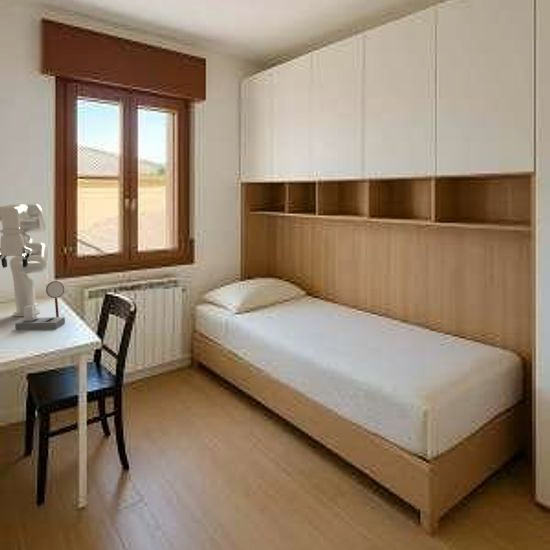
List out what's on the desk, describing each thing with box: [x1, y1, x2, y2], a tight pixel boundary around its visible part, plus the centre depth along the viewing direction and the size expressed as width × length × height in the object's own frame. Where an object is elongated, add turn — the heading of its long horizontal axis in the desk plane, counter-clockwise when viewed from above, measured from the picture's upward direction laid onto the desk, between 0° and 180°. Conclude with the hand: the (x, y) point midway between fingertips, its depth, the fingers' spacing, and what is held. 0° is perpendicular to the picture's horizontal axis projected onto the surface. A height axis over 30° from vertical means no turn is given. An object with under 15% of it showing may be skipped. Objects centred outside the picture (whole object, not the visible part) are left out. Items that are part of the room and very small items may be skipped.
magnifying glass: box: [45, 280, 65, 317], centre depth 247 cm, size 9×2×20 cm, turn 126°
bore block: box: [14, 316, 66, 330], centre depth 236 cm, size 11×19×3 cm, turn 93°
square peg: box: [23, 305, 38, 322], centre depth 235 cm, size 4×4×10 cm
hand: (15, 267), depth 238 cm, fingers open, 9 cm apart
